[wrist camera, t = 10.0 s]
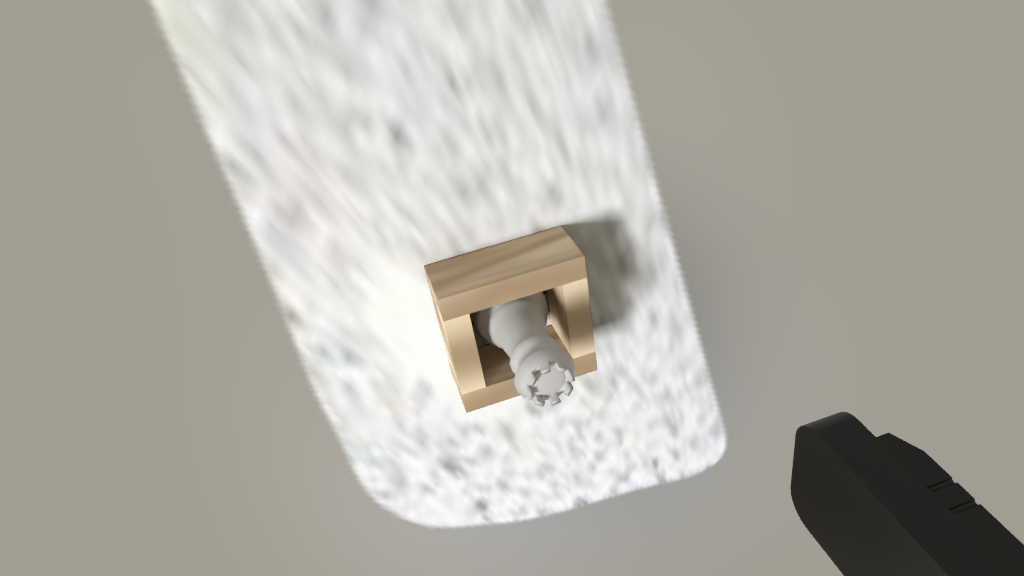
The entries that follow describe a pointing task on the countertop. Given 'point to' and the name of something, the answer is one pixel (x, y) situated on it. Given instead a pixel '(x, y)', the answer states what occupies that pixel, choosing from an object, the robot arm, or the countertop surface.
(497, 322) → the rook chess piece
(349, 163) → the countertop surface
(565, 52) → the countertop surface
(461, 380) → the socket block
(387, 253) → the countertop surface
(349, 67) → the countertop surface
